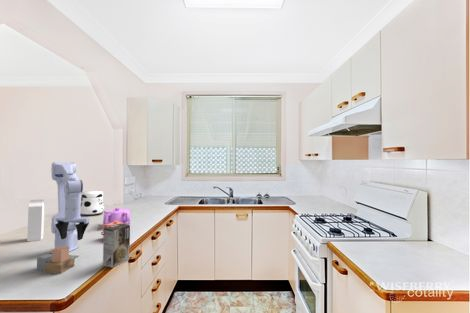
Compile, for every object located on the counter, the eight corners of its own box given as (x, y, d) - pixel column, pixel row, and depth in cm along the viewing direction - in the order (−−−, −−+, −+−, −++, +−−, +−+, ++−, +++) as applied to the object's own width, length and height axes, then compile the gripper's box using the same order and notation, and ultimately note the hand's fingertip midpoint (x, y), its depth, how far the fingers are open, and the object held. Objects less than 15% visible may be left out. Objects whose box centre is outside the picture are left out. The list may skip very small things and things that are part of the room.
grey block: (45, 265, 103) (45, 253, 103) (53, 266, 103) (54, 254, 103) (36, 269, 99) (37, 257, 99) (45, 270, 99) (46, 258, 99)
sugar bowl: (122, 242, 133) (122, 223, 134) (95, 242, 132) (96, 223, 133) (130, 235, 146) (130, 218, 146) (106, 235, 145) (106, 218, 145)
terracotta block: (59, 258, 102) (60, 246, 102) (68, 258, 102) (68, 246, 102) (51, 262, 98) (52, 249, 98) (61, 262, 98) (61, 250, 98)
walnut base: (59, 264, 104) (59, 256, 104) (74, 265, 103) (74, 257, 103) (44, 272, 97) (45, 263, 97) (60, 273, 96) (61, 264, 96)
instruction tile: (66, 255, 114) (66, 254, 114) (78, 256, 113) (78, 255, 113) (52, 262, 106) (52, 261, 106) (65, 263, 105) (65, 262, 105)
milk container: (108, 213, 200) (109, 192, 200) (86, 217, 185) (87, 194, 185) (96, 211, 209) (97, 190, 209) (75, 214, 194) (75, 192, 194)
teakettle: (102, 230, 154) (103, 211, 154) (103, 223, 169) (103, 206, 170) (131, 227, 162) (132, 209, 162) (129, 221, 177) (130, 204, 177)
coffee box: (119, 257, 113) (120, 222, 113) (129, 260, 110) (130, 224, 110) (101, 265, 104) (103, 227, 104) (112, 268, 102) (113, 229, 102)
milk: (30, 238, 136) (31, 199, 137) (43, 237, 139) (44, 198, 139) (27, 241, 131) (28, 200, 131) (41, 240, 134) (42, 200, 134)
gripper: (49, 209, 103) (48, 241, 103) (81, 210, 102) (80, 242, 102) (63, 205, 110) (62, 235, 110) (93, 207, 109) (92, 237, 109)
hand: (71, 239), depth 106 cm, fingers open, 7 cm apart
